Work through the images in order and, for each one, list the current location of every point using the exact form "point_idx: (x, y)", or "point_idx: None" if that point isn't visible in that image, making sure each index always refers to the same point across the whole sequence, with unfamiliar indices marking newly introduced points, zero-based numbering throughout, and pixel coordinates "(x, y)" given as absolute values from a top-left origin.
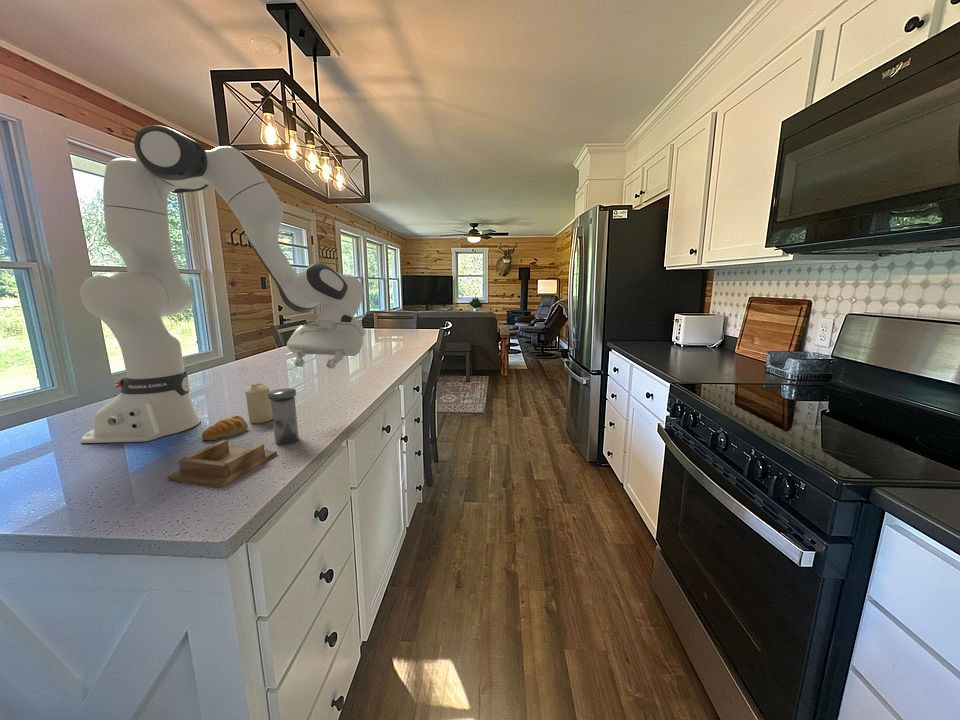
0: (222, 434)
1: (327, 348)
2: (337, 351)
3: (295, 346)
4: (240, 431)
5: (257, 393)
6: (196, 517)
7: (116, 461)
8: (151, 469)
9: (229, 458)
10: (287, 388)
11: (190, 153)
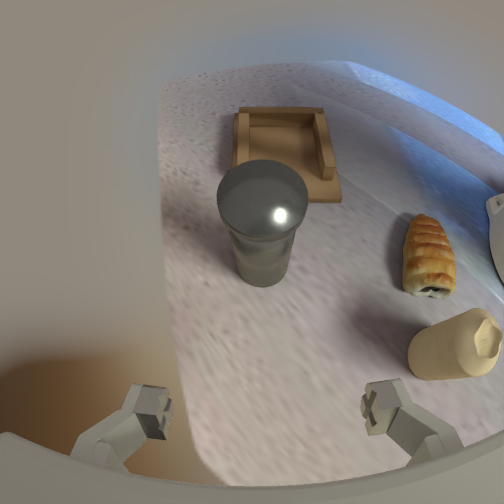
0: (407, 233)
1: (167, 480)
2: (91, 456)
3: (481, 443)
4: (402, 270)
5: (458, 320)
6: (210, 85)
7: (443, 148)
8: (378, 134)
9: (292, 160)
10: (277, 232)
11: None
